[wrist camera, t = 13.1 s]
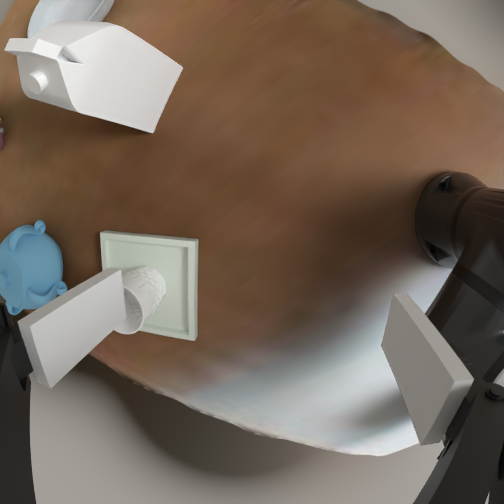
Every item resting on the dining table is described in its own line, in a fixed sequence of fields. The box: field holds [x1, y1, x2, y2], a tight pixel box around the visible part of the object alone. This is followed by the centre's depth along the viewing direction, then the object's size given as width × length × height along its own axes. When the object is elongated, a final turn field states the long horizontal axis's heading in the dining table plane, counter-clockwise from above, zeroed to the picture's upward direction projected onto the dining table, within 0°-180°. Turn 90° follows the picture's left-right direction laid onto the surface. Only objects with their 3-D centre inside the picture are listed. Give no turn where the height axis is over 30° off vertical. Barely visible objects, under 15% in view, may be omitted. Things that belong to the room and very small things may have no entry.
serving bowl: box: [28, 0, 115, 39], centre depth 34 cm, size 21×21×7 cm
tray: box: [100, 230, 199, 341], centre depth 48 cm, size 17×17×2 cm
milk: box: [5, 20, 183, 133], centre depth 28 cm, size 12×12×26 cm
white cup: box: [114, 266, 166, 334], centre depth 43 cm, size 8×8×10 cm
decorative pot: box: [0, 220, 67, 315], centre depth 45 cm, size 16×16×14 cm
